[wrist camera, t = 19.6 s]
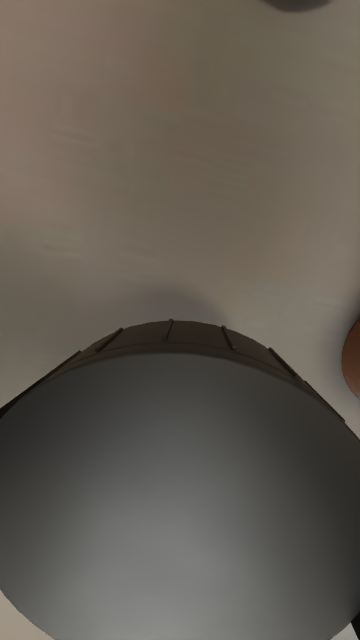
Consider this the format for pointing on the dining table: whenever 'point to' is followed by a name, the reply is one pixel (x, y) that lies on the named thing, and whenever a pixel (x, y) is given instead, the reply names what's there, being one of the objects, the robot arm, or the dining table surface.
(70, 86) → the dining table surface
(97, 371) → the jar lid
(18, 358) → the dining table surface
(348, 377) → the jar
